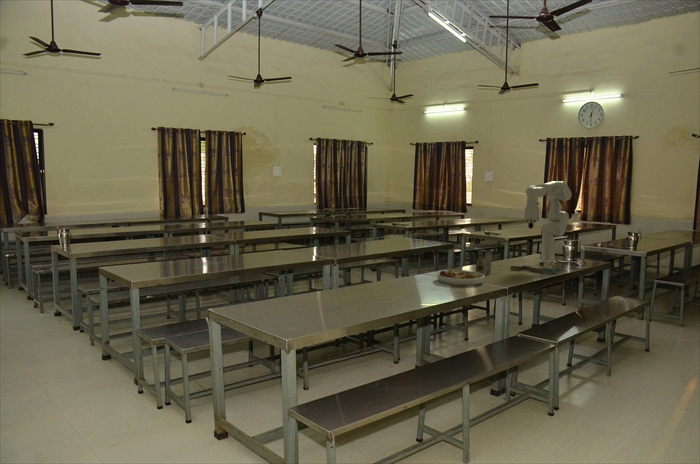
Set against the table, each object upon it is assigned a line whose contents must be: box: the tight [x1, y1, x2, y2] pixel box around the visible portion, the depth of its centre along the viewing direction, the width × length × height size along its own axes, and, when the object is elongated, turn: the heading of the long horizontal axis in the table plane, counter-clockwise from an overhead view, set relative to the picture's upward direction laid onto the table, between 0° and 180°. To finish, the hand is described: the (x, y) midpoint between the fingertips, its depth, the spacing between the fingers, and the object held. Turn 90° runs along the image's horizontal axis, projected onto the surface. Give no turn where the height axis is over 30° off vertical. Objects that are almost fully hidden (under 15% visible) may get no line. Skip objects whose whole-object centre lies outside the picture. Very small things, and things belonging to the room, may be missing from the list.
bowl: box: [436, 269, 486, 287], centre depth 342 cm, size 30×30×8 cm
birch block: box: [543, 260, 555, 268], centre depth 380 cm, size 5×5×5 cm
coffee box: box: [475, 249, 493, 275], centre depth 372 cm, size 9×6×16 cm
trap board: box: [510, 262, 558, 275], centre depth 388 cm, size 17×29×3 cm, turn 60°
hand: (531, 228), depth 398 cm, fingers closed
